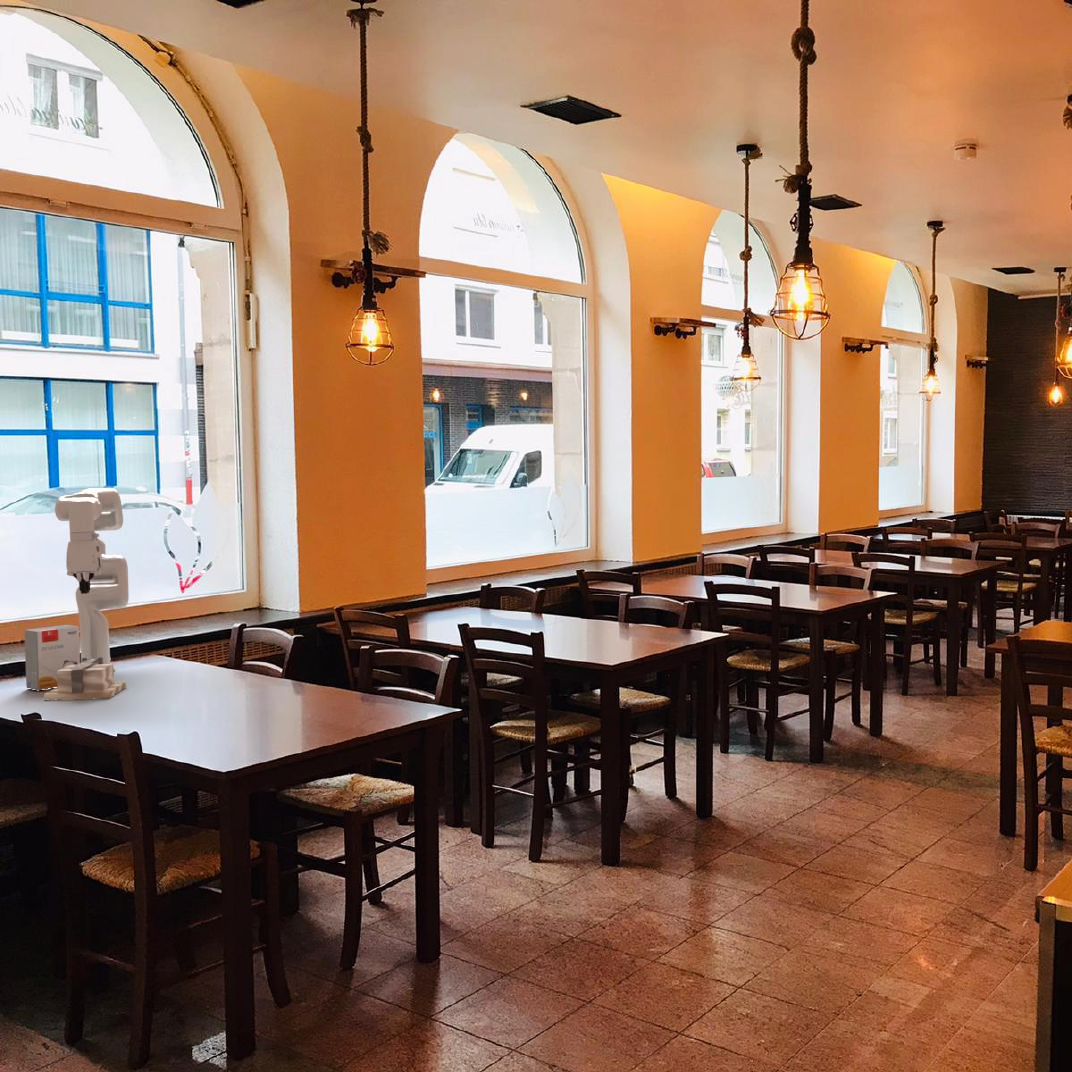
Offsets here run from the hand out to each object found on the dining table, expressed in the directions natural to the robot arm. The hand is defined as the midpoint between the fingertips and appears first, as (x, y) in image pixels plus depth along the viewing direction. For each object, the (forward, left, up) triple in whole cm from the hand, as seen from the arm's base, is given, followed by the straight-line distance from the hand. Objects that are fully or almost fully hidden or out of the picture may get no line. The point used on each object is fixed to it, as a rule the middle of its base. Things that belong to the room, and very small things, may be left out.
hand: (85, 593), depth 370 cm
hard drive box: (-4, -13, -32) cm, 35 cm away
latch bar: (+9, +2, -23) cm, 24 cm away
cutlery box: (+9, +2, -32) cm, 33 cm away
